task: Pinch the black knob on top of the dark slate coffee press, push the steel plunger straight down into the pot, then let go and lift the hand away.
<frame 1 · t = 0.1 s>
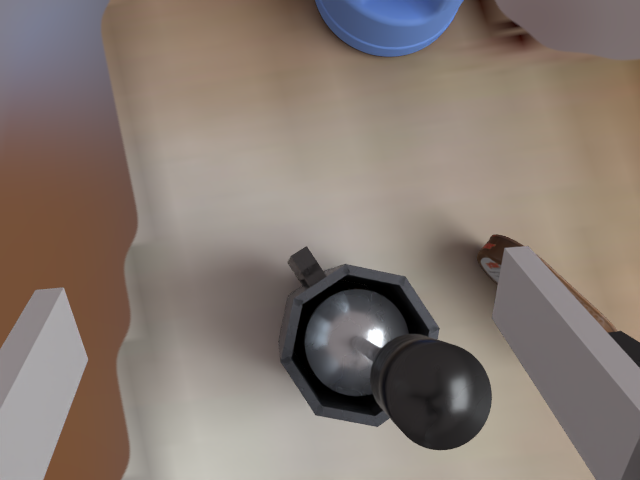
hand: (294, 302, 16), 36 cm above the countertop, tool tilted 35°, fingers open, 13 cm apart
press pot: (337, 329, 52), on the countertop
tin: (522, 295, 54), on the countertop
plunger: (384, 359, 30), point 22 cm above the countertop, slide at 0.0 cm
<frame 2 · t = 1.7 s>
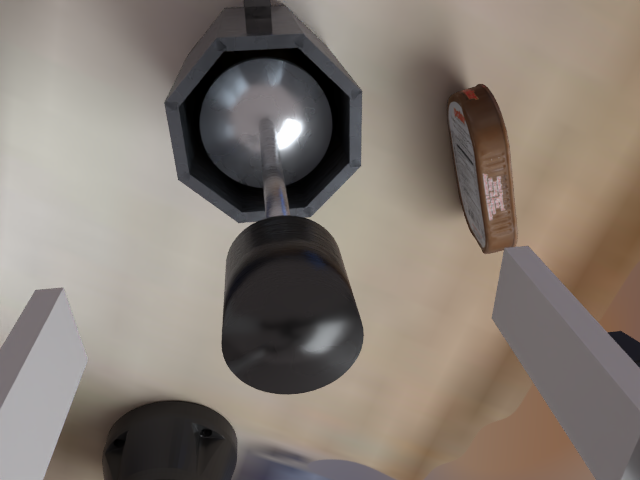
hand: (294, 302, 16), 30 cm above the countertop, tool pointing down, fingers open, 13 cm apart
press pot: (261, 80, 42), on the countertop
tin: (462, 156, 48), on the countertop
plunger: (275, 192, 23), point 22 cm above the countertop, slide at 0.0 cm
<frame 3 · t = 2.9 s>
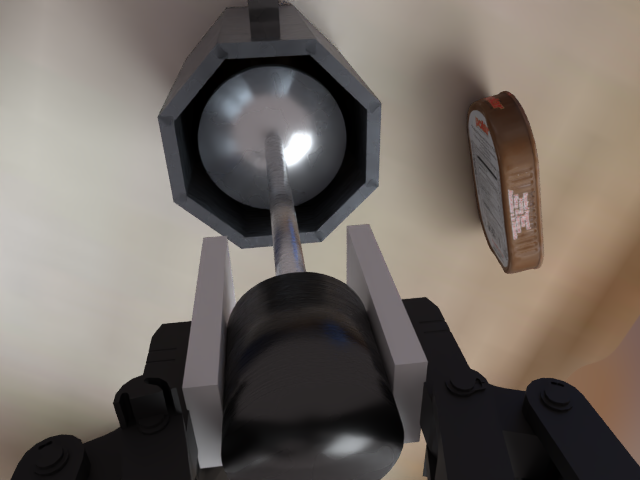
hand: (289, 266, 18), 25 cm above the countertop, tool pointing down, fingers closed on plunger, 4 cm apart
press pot: (266, 86, 39), on the countertop
tin: (482, 167, 45), on the countertop
plunger: (284, 226, 20), point 22 cm above the countertop, slide at 0.0 cm, touching gripper
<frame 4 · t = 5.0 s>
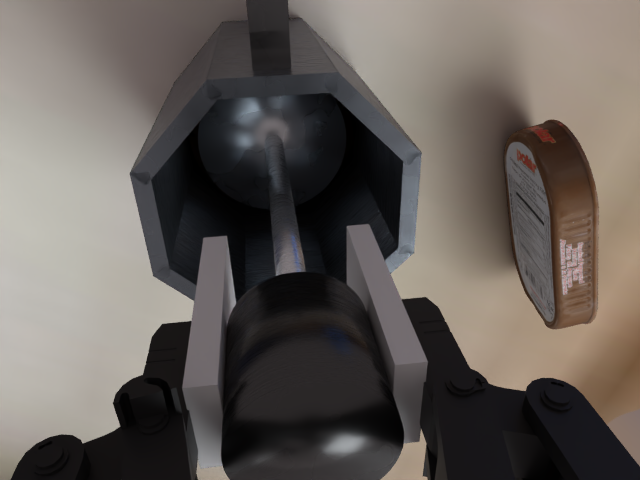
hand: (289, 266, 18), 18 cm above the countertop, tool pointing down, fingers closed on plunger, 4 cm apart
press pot: (269, 113, 33), on the countertop
tin: (519, 203, 39), on the countertop
plunger: (284, 226, 20), point 15 cm above the countertop, slide at 7.0 cm, touching gripper
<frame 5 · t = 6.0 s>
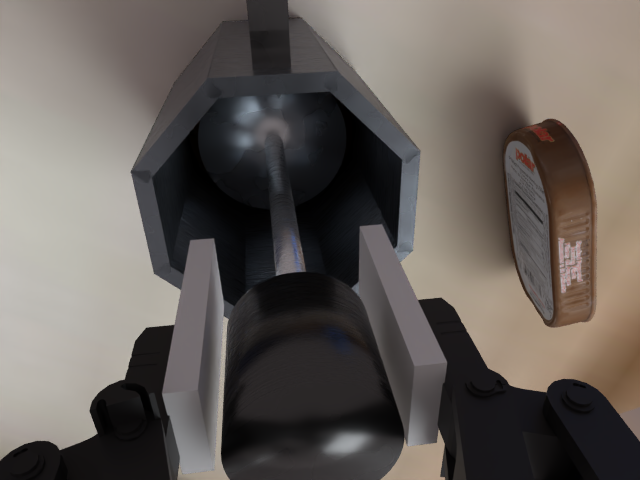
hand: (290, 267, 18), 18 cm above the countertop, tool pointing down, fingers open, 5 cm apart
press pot: (269, 113, 33), on the countertop
tin: (518, 202, 39), on the countertop
plunger: (284, 226, 20), point 15 cm above the countertop, slide at 6.8 cm
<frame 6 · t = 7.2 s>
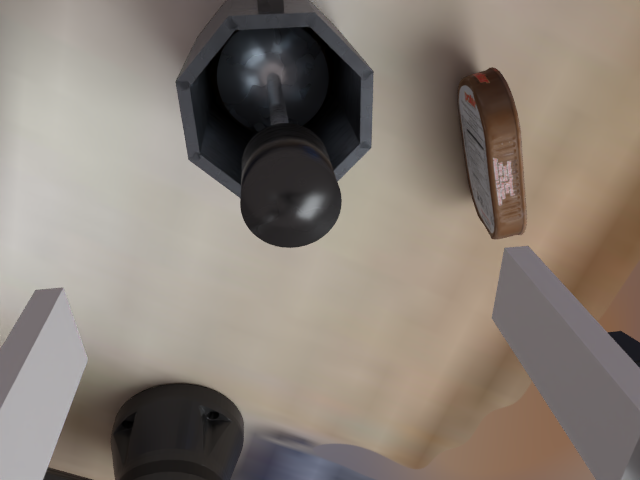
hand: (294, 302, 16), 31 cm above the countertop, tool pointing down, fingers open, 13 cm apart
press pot: (271, 62, 42), on the countertop
tin: (472, 141, 48), on the countertop
plunger: (279, 122, 29), point 15 cm above the countertop, slide at 6.8 cm
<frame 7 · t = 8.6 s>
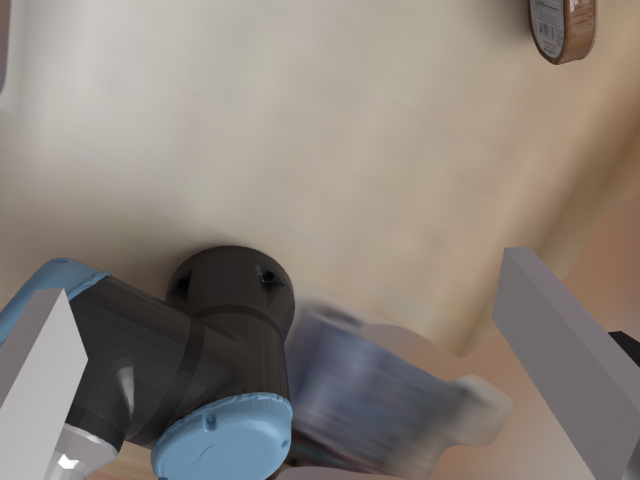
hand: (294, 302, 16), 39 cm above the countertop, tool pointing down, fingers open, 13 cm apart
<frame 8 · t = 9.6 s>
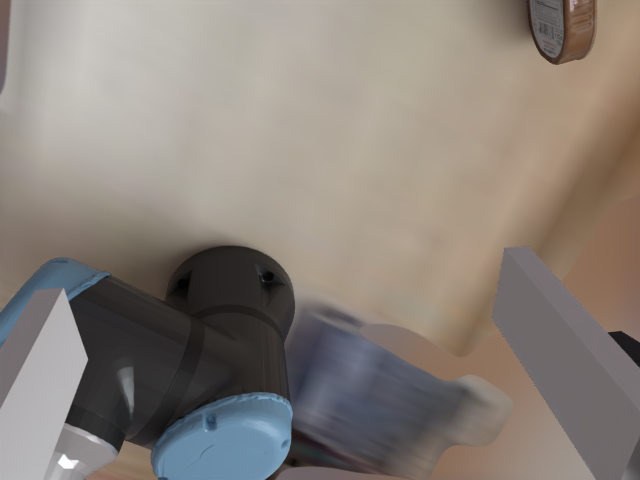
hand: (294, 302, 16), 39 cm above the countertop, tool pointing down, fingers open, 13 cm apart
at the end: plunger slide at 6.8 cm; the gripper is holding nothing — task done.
